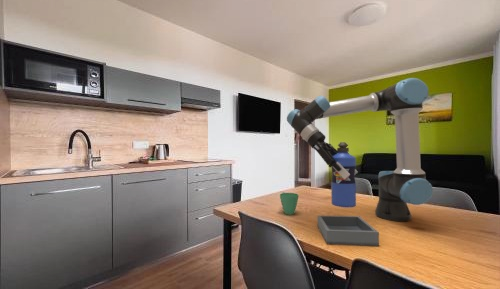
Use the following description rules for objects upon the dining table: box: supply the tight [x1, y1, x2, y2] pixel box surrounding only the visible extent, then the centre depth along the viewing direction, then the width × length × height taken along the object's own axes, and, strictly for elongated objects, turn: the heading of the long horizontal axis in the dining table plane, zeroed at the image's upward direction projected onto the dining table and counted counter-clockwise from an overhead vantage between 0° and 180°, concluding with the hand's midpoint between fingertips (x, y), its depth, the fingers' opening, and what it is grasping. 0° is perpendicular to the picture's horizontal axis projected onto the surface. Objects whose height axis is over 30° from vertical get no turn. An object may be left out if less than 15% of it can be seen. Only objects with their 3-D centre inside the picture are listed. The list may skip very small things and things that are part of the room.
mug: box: [279, 191, 299, 216], centre depth 121 cm, size 15×10×10 cm
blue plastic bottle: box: [330, 141, 357, 208], centre depth 89 cm, size 9×9×25 cm
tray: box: [316, 214, 380, 247], centre depth 89 cm, size 18×18×5 cm
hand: (351, 175), depth 87 cm, fingers closed on blue plastic bottle, 9 cm apart
